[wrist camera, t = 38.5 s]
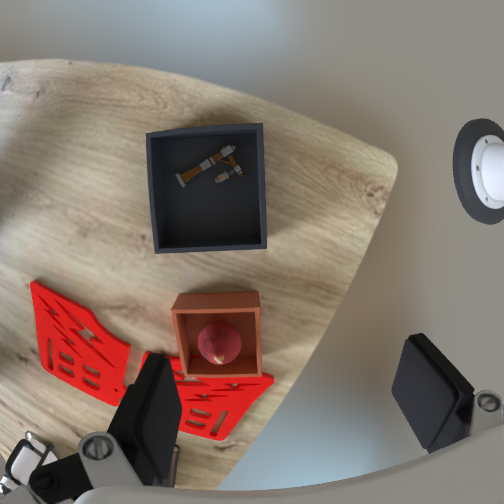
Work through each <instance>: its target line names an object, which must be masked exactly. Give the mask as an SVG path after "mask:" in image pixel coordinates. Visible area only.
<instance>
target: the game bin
mask: <svg viewBox="0 0 504 504" xmlns="http://www.w3.org/2000/svg"><path fill="white" fill-rule="evenodd" d="M231 145H235V146H236V149H235V150H234V151H233V152H232V153H230V154H231V156H232V157H233V159H234V160H235V162H236V164H237V165H239V167H240V169H241V171H242V173H243V174H244V175H243V176H242V177H240V176H239V174H238V173H237V172H236V171H234V170H235V169H234V167H233V166H232V165H230V164H228V163H225V162H222V161H218V162H215V164H214V165H213V164H212V165H211V167H209V168H207V169H206V170H205V171H201V172H200V173H198V174H197V175H195V176H194V177H193V178H191V179H190V180H189V181H188V182H186V184H187V185H186V186H185V187H182V185H181V184H180V182H179V180H178V178H177V177H176V175H177V174H178V173H179V174H184V173H186V172H188V171H190V170H192V169H194V168H196V167H198V166H199V165H200V164H201V163H203V162H204V161H206V160H207V159H208V160H209V159H210V157H214V156H215V155H217V154H218V153H220V151H221V150H222V149H221V146H225V147H228V146H231ZM146 150H147V172H148V188H149V201H150V213H151V223H152V233H153V241H154V250H155V254H159V253H160V254H161V253H184V252H206V251H230V250H253V249H267V230H266V197H265V169H264V143H263V123H251V124H229V125H214V126H202V127H192V128H182V129H174V130H166V131H158V132H152V133H146ZM221 160H224V161H227V162H229V163H231V162H230V160H229V159H228V157H227V156H226V157H225V158H224V157H223V158H221ZM231 170H233V171H234V173H233V172H232V171H231ZM224 171H225V172H227V173H228V172H229V171H231V172H232V173H233V174H232V175H231V174H230V175H229V179H228V178H226V179H225V180H223V181H222V182H219V183H216V182H215V179H216V178H218V176H219V175H221V174H223V173H225V172H224Z"/></svg>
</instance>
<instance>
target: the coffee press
mask: <svg viewBox="0 0 504 504" xmlns="http://www.w3.org/2000/svg"><path fill="white" fill-rule="evenodd" d="M27 433H28V434H29V437H30V438H28V439H27ZM25 437H26V439H22V440H20V441H19V443H18V444H17V445H16V447H15V449H14V450H13V452H12V453H11V455H10V457H9V458H8V460H7V463H6V467H5V471H6V472H5V474H4V476H3V479H2V481H1V482H0V492H1V494H2V495H3V496H5V495H6V494H8V493H10V492H11V491H13V490H14V489H16V488H17V487H19V486H20V485H22V484H23V483H24V484H25V485H28V484H29V477H30V475H31V473H32V471H33V470H34V469H36V468H38V467H40V466H42V465H45V464H48V463H51V462H54V461H57V459H56V457H55V455H54V454H53V453H52V452H51V450H52V448H53V447H54V446H53V445H51V444H49V445H48V446H44V445H43V444H42V443H40V442H38V441H37V440H35V439H32V437H31V434H30V432H28V431H27V432H25ZM58 460H60V459H58Z"/></svg>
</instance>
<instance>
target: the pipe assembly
mask: <svg viewBox="0 0 504 504" xmlns="http://www.w3.org/2000/svg"><path fill="white" fill-rule="evenodd" d="M221 149H222V150H221V151H220V153H218V154H217V155H215V156H214V157H210V159H209V160H208V159H207V160H206V161H204V162H203V163H201V164H200V165H199V166H198V167H196V168H194V169H192V170H190V171H188V172H186V173H184V174H179V173H178V174H177V175H176V177H177V178H178V180H179V182H180V184H181V185H182V187H185V186H186V185H187V184H186V182H188V181H189V180H190V179H191V178H193V177H194V176H195V175H197V174H198V173H200V172H201V171H205V170H206V169H207V168H209V167H211V165H212V164H213V165H214V164H215V162H218V161H222V162H225V163H228V164H230V165H232V166H233V167H234V169H235V170H234V171H236V172H237V173H238V174H239V176H240V177H242V176H243V175H244V174H243V173H242V171H241V169H240V167H239V165H237V164H236V162H235V160H234V159H233V157H232V156H231V154H230V153H232V152H233V151H234V150H235V149H236V146H235V145H231V146H228V147H225V146H221ZM226 156H227V157H228V159H229V160H230V162H231V163H229V162H227V161H224V160H221V158H223V157H224V158H225V157H226ZM231 171H232V172H233V173H234V171H233V170H231ZM231 171H229V172H228V173H227V172H225V171H224V172H225V173H223V174H221V175H219V176H218V178H216V179H215V182H216V183H219V182H222V181H223V180H225V179H226V178H228V179H229V175H230V174H231V175H232V174H233V173H232V172H231Z"/></svg>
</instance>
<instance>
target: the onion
mask: <svg viewBox="0 0 504 504" xmlns="http://www.w3.org/2000/svg"><path fill="white" fill-rule="evenodd" d="M241 344H242V340H241V336H240V334H239V331H238V330H237V329H236V328H235V327H234V326H233V325H232V324H229V323H227V322H224V321H215V322H211V323H209V324H208V325H206V326H205V327H204V328H203V329H202V331H201V333H200V334H199V336H198V348H199V351H200V352H201V354H202V355H203V356H204V357H205V358H206V359H207V360H208V361H210V362H211V363H214V364H226V363H230V362H231V361H232V360H234V359H235V358H236V357H237V356H238V354H239V352H240V350H241Z"/></svg>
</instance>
